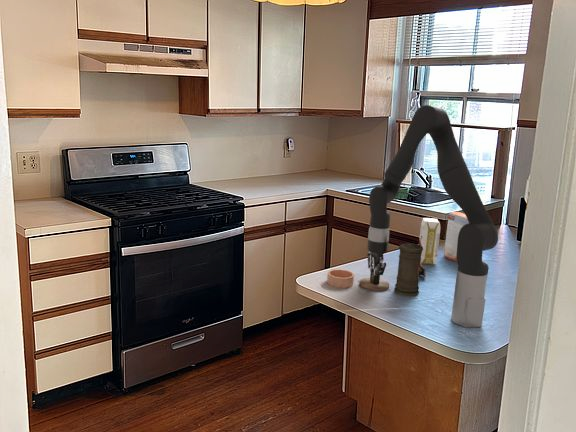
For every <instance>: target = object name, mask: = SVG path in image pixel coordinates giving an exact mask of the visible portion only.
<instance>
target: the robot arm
mask: <svg viewBox="0 0 576 432" xmlns="http://www.w3.org/2000/svg"><path fill="white" fill-rule="evenodd" d="M426 135H429V136H430V138H431V139H432V142H433V144H434V147H435V149H436V154H437V155H436V156H437V157H436V159H437V160H436V161H437V163H436V164H437V165H436V166H437V168H436V169H437V173H438V177H439V179H440V181H441V184H442V187H443V189H444V191H445V193H446V194H447V196H449V197H450V198H451V200H452V201H453V202H455V203H456V205H458V207H459V208H460V209H461V210H462V211H463V212H462V213H464V214H465V215H466V217H467V219H468V222H469V223H468V224H465V225H464V226H463V227H462V228H461V229H460V231H459V235H458V242H457V255H456V259H457V262H456V263H457V270H456V277H455V286H454V292H453V293H454V294H453V301H452V309H451V317H450V321H452V323H454V324H456V325H459V326H461V327H463V328H464V329H465V328H479V327H481V328H482V326H483V319H484V312H485V307H486V305H485V304H486V298H485V297H486V296H485V295H486V290H487V289H486V287H487V281H488V274H489V264H488V263H487V262H485V261H483V253H484V252H485V251H488V250H492V249H494V248H495V247H496V246H497V244H498V241H499V234H498V230H497V227H496V225H495V224H494V222H493V220H492V218H491V216H490V215H489V213H488V211H487V209H486V207H485V205H484V203H483V201H482V199H481V196H480V194H479V192H478V190H477V188H476V185H475V183H474V181H473V177H472V175H471V173H470V170H469V168H468V166H467V163H466V161H465V160H464V159H465V158H464V156H463V154H462V152H461V149H460V147H459V145H458V143H457V140H456V137H455V134H454V130H453V128H452V124H451V120H450V117H449V115H448V113H447V111H446V110H444V108H442V107H440V106H435V105H431V104H424V105H421V106H420V107H418V108H417V109H416V111H415V112H414V114H413V116H412V118H411V121H410V124H409V126H408V127H407V131H406V132H405V135H404V138H403V139H402V141H401V144H400V146H399V148H398V150H397V152H396V154H395V155H394V156H393V159H392V161H391V162H390V163H389V165H388V167H387V168H386V170H385V172H384V179H383V181H382V182H381V184H380V185H377V186H374V187H373V188H372V189H371V190H370V193H369V198H368V202H369V211H370V222H369V228H368V236H367V248H366V249H367V251H368V252H367V254H366V255H367V266H368V269H369V272H370V274H369V276H370V277H369V278H370V281H371V276H372V272H374V277H373V284H374V285H378V284H379V280H380V279H381V278H380V277H381V276H383V275H384V273H385V270H386V267H387V262H384V259H385V258H384V254H386V253H388V250H389V239H390V225H391V224H390V223H391V214H390V212H389V211H388V204H390V203H391V202H393V200H394V199H395V198H396V197H397V195H398V193H399V190H400V188H401V185H402V183H403V181H404V180H405V179H406V177H407V176H408V175H409V173H410V171H411V169H412V167H413V165H414V161H415V158H416V155H417V154H416V153H417V150H418V147H419V145H420V143H421V142H422V140H423V139H424V138H425V137H426Z"/></svg>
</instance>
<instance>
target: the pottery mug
mask: <svg viewBox="0 0 576 432" xmlns="http://www.w3.org/2000/svg"><path fill="white" fill-rule="evenodd" d="M419 276H421V277H424V281H425V280H426V278H427V277H426V271H425V268H424V265H423V264H421V263H420V271H419Z"/></svg>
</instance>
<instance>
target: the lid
mask: <svg viewBox="0 0 576 432" xmlns="http://www.w3.org/2000/svg"><path fill="white" fill-rule="evenodd" d="M373 277H374V272H372V276H371V281H370V277H365V278H362V279H360V280H359V281H360V283H359V286H360V287H361V288H363V289H364V290H366V289H368V290H374V291H373V292H384V291H383V290H387V289H388V288H389V289H390V283H389V282H388V281H387V280H385V279H381V278H380V280H379V284H378V285H374V284H373Z"/></svg>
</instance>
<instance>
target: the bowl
mask: <svg viewBox="0 0 576 432" xmlns="http://www.w3.org/2000/svg"><path fill="white" fill-rule="evenodd" d="M326 278H327V279H326V282H327V284H328V285H330V286H331V287H335V288H340V289H341V288H345V289H346V288H351V287H353V286H354V283H355V274H354V272H353V271H351V270H348V269H341V268H340V269H339V268H336V269H331V270H329V271H328V272H327V275H326Z"/></svg>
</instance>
